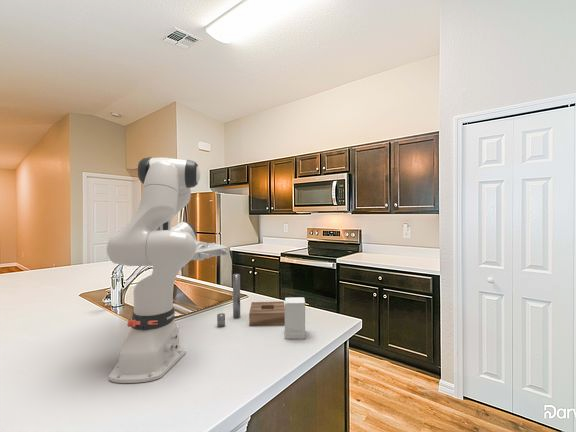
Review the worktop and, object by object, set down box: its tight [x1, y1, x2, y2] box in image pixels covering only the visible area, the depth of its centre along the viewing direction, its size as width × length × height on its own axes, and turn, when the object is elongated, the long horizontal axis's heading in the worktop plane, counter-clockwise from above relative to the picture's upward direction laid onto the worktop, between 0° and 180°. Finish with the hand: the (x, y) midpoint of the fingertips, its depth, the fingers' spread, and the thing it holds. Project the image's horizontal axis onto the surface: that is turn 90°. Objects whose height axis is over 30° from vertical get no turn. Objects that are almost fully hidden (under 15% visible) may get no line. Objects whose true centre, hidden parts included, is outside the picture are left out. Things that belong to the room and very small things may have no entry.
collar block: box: [248, 300, 285, 327], centre depth 123 cm, size 14×14×5 cm
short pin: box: [216, 312, 226, 329], centre depth 116 cm, size 3×3×4 cm
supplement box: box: [284, 296, 306, 340], centre depth 108 cm, size 7×7×13 cm
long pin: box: [232, 273, 241, 319], centre depth 125 cm, size 3×3×18 cm
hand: (218, 254), depth 132 cm, fingers open, 8 cm apart
